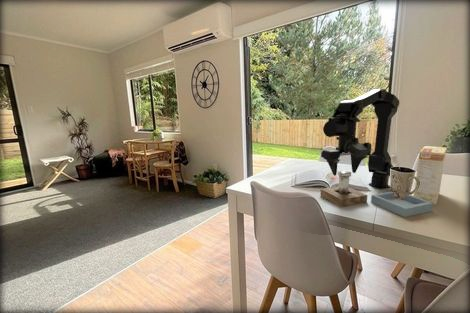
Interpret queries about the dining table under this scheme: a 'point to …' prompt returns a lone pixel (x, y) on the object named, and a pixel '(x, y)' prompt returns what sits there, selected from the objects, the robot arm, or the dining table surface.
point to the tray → (402, 204)
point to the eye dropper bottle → (395, 161)
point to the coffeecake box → (430, 173)
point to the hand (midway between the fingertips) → (344, 174)
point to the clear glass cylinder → (343, 182)
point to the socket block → (343, 196)
